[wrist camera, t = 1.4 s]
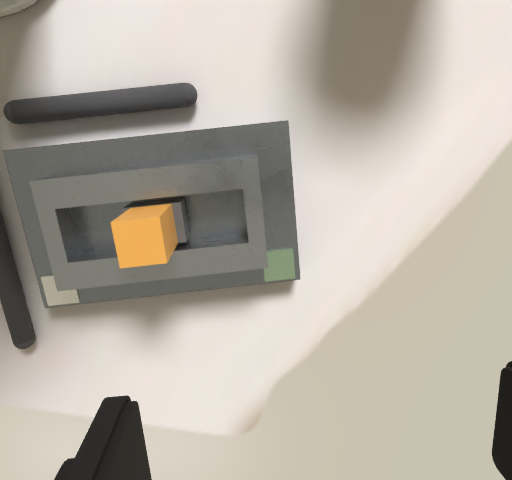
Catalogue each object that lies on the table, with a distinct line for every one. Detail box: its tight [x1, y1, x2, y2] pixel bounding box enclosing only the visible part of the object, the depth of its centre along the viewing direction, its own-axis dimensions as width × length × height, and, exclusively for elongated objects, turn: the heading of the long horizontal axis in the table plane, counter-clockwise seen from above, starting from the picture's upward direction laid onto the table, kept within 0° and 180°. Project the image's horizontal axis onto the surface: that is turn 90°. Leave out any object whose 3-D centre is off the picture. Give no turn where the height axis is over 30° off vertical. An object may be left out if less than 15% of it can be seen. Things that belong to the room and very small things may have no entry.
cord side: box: [4, 83, 197, 124], centre depth 28 cm, size 14×2×2 cm, turn 96°
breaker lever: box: [110, 198, 190, 268], centre depth 26 cm, size 3×4×6 cm
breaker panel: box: [3, 121, 300, 308], centre depth 29 cm, size 12×20×4 cm, turn 96°
